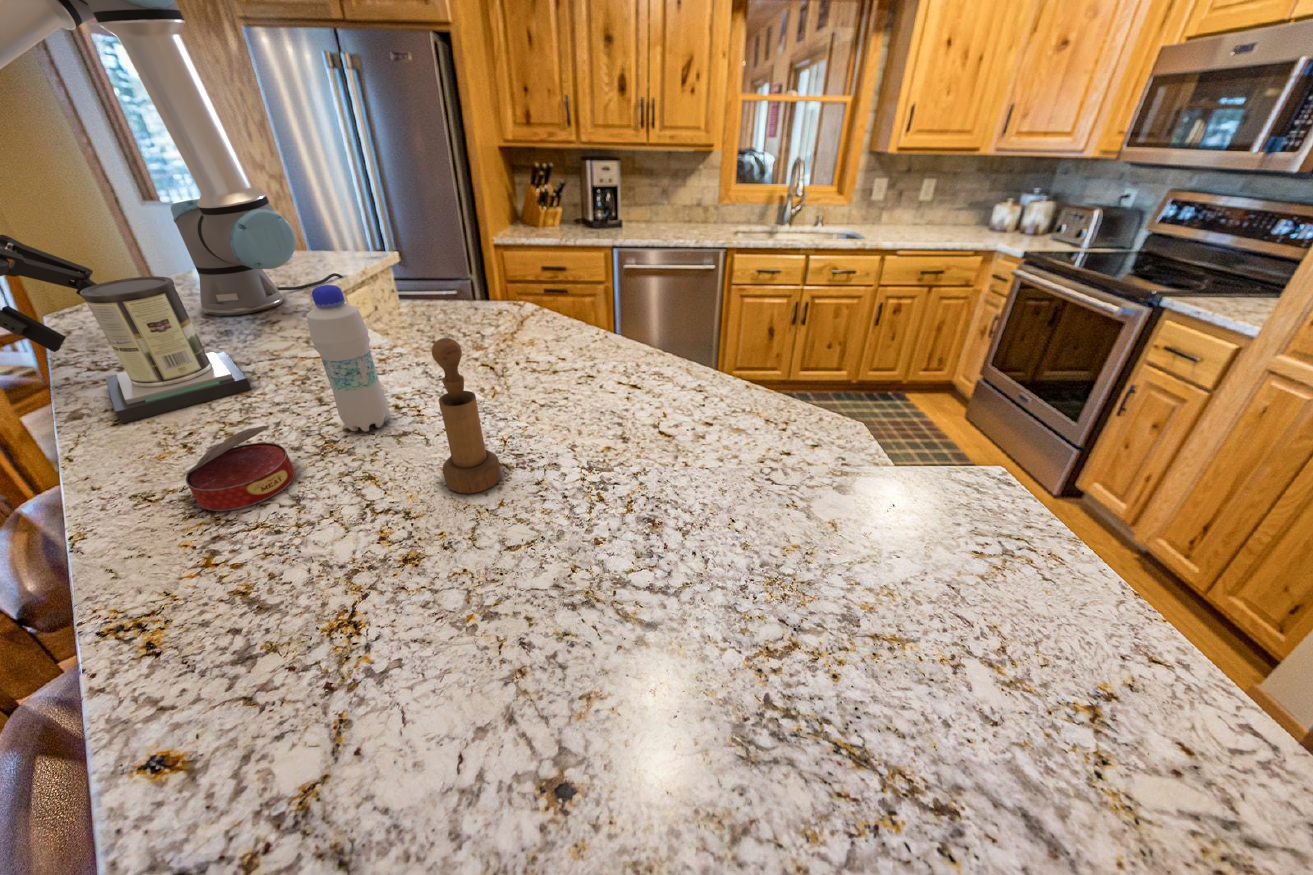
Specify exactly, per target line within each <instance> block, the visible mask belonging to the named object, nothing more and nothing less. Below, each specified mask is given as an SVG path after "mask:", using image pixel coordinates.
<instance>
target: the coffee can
mask: <svg viewBox="0 0 1313 875" xmlns="http://www.w3.org/2000/svg"><path fill="white" fill-rule="evenodd" d="M96 284H97V285H93V286H90V287H88V288H85V289H83V290H82V291H81V292H80V294H81V296H80V297H81V298H82V299H83V300H84V301H85V302H86V304H87V306H88V308H89V309H90V311H91V313H92V315H93V317H94V318H95V320H96V321H97V323H98V325H99V327H100V328H101V330H102V332H103V334H104V336H105V337H106V339H107V341H108V343H109V345H110V346H111V348H112V349H113V350H112V351H114V353H115V355H116V356H117V359H118V360H119V362H120V363H121V366H122V368H123V369H124V372H127V374H128V376H129V378H130V379H131V383H132V384H133V385H135V386H140V387H157V386H165V385H171V384H176V383H180V382H183V381H187V380H190V379H193V378H195V377H198V376H200V375H202V374H204V373H206V372H207V371H209V370H210V369H211V367H212V363H211V362H210V360H209V358H208V356H207V352H206V350H205V348H204V346H203V344H202V342H201V339H200V337H199V336H198V334H197V332H196V329H195V327H194V325H193V323H192V321H191V318H190V316H189V314H188V312H187V310H186V308H185V306H184V303H183V302H182V299H181V297H180V295H179V293H178V291H177V288H176V287H175V281H174V280H173V278H172V277H167V276H157V275H156V276H153V275H152V276H137V277H127V278H121V279H115V280H109V281H106V282H101V283H96Z"/></svg>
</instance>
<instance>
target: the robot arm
mask: <svg viewBox="0 0 1313 875" xmlns="http://www.w3.org/2000/svg"><path fill="white" fill-rule="evenodd" d="M93 19H95V20H96V22H97V23H98V25H99V26H100V28H103V29H104V30H105V31H107V32H109V33H110V34H113V35H114V36H115V37H116V38H117V39H118V40H119V43H120V44H121V47H122V48H123V49H124V52H125V53H126V55H127V58H128V59H129V61H130V63H131V65H132V66H133V69H134V71H135V72H136V74H137V76H138V78H139V80H140V82H141V83H142V86H143V87H144V89H145V91H146V93H147V95H148V97H149V98H150V100H151V102H152V104H153V106H154V108H155V110H156V111H157V114H158V115H159V117H160V119H161V121H162V123H163V125H164V126H165V129H166V130H167V132H168V134H169V136H170V138H171V139H172V142H173V143H174V145H175V147H176V149H177V151H178V153H179V155H180V156H181V158H182V160H183V162H184V164H185V166H186V167H187V169H188V171H189V173H190V175H191V177H192V179H193V181H194V182H195V184H196V186H197V188H198V190H199V193H200V196H199V198H194V199H187V200H180V201H174V202H173V203H171V204H170V213H171V215H172V218H173V220H172V221H173V222H174V224H175V225H176V227H177V229H178V231H179V234H180V237H181V238H182V240H183V243H184V245H185V247H186V250H187V252H188V254H189V256H190V258H191V261H192V263H193V265H194V268H195V269H196V272H197V274H198V277H199V295H200V296H199V298H200V304H201V308H202V310H203V312H204V313H205V314H206V315H209V316H216V317H230V316H241V315H248V314H254V313H258V312H263V311H266V310H270V309H272V308H275V307H277V306H279V305H280V304H281V305H282V303H283V301H284V299H283V296H282V294H281V292H280V291H299V290H303V289H308V288H311V287H316V286H318V285H321V284H324V283H326V282H328V281H329V280H331V279H332V278H333V277H337V278H339V279H342V278H344V276H343V275H342V274H340V273H337V272H335V273H330V274H328V275H327V276H326V277H324V278H323V279H321V280H317V281H314V282H311V283H306V284H302V285H297V286H276V285H275V283H274V282H273V281H272V280H271V279H270V277H269V276H268V275H267V274H266V272H265V271H264V270H273V269H274V270H275V269H278V268H280V267H283V266H284V265H285V264H287V263H288V262H289V261H290V260H291V259H292V257H293V254H294V252H295V250H296V244H297V241H296V240H297V238H296V234H295V231H294V229H293V227H292V225H291V224H290V222H289V221H288V220H287V219H286V218H285V217H284V216H282V215H281V214H280V213H278V212H276V211H274V209H273V208H272V205H271V203H270V201H269V199H268V197H267V195H266V193H265V191H262V190H260V189H259V188H257V187H255V186H254V185H253V184H252V182H251V180H250V178H249V176H248V174H247V171H246V170H245V167H244V165H243V163H242V162H241V159H240V157H239V155H238V152H237V151H236V149H235V147H234V145H233V142H232V140H231V138H230V135H229V134H228V132H227V130H226V128H225V125H224V124H223V121H222V118H221V117H220V115H219V113H218V111H217V109H216V107H215V105H214V102H213V100H212V97H211V96H210V94H209V91H208V89H207V88H206V86H205V84H204V81H203V79H202V77H201V75H200V72H199V70H198V69H197V67H196V64H195V63H194V60H193V58H192V56H191V54H190V51H189V50H188V48H187V45H186V43H185V41H184V39H183V37H182V32H183V30H184V29H185V25H186V21H185V18H184V16H183V13H182V11H181V9H180V7H179V5H178V3H177V1H176V0H0V70H1V69H3V68H4V67H6V66H7V65H8V64H10V63H11V62H13V61H14V60H16V59H17V58H19V57H20V56H22V55H23V54H24V53H25V52H28V50H30V49H32V48H33V47H34V46H36V45H37V44H38V43H40V42H41V41H43V40H44V39H46V38H48V37H49V36H50V35H52V34H53V33H54V32H56V31H57V30H58V29H61V28H62V29H65V30H69V31H73V30H75V29H76V28H78V27H80V26H81V25H82V24H84V23H86V22H88V21H91V20H93ZM9 260H11V263H10V261H9ZM93 273H94V271H93V270H92V269H91V268H89V267H87V266H83V265H81V264H78V263H76V262H73V261H70V260H67V259H65V258H63V257H62V258H61V257H58V256H56V255H54V254H51V253H49V252H46V251H43V250H40V249H37V248H35V247H32V246H30V245H26V244H25V243H22V242H20V241H19V240H17V239H15V238H13V237H10V236H9V235H6V234H0V277H4V276H9V277H13V278H15V277H19V276H20V277H23V278H24V277H25V278H29V279H32V280H37V281H41V282H45V283H49V284H53V285H58V286H61V287H65V288H70V289H75V290H76V292H75V294H76V295H78V296H80V297H82V296H81V294H80V292H81V291H82V290H83V289H85V288H88V287H90V286H93V285H97V284H98V283H96V282H95V281H93V280H91V277H92V275H93ZM0 328H2V329H4V330H6V331H8V332H10V333H11V334H13V335H16V336H20V337H21V336H22V337H24V338H26V339H28V340H30V341H32V342H34V343H36V344H38V345H39V346H42V347H43V348H45V349H47V350H49V351H51V352H53V353H55V352H58V351H59V350H60V349H61V347H62V345H63V343H64V341H65V339H66V338H67V336H66V335H64V334H62V333H60V332H58V331H56V330H54V328H53V329H52V328H51V327H49V326H47V325H45V324H43V323H42V322H40V321H38V320H36V319H33V318H32V317H31V316H29V315H27V314H24V313H23V312H21V311H19V310H17V309H15V308H14V307H11V306H10V305H5V306H3V307H2V308H1V309H0Z"/></svg>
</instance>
